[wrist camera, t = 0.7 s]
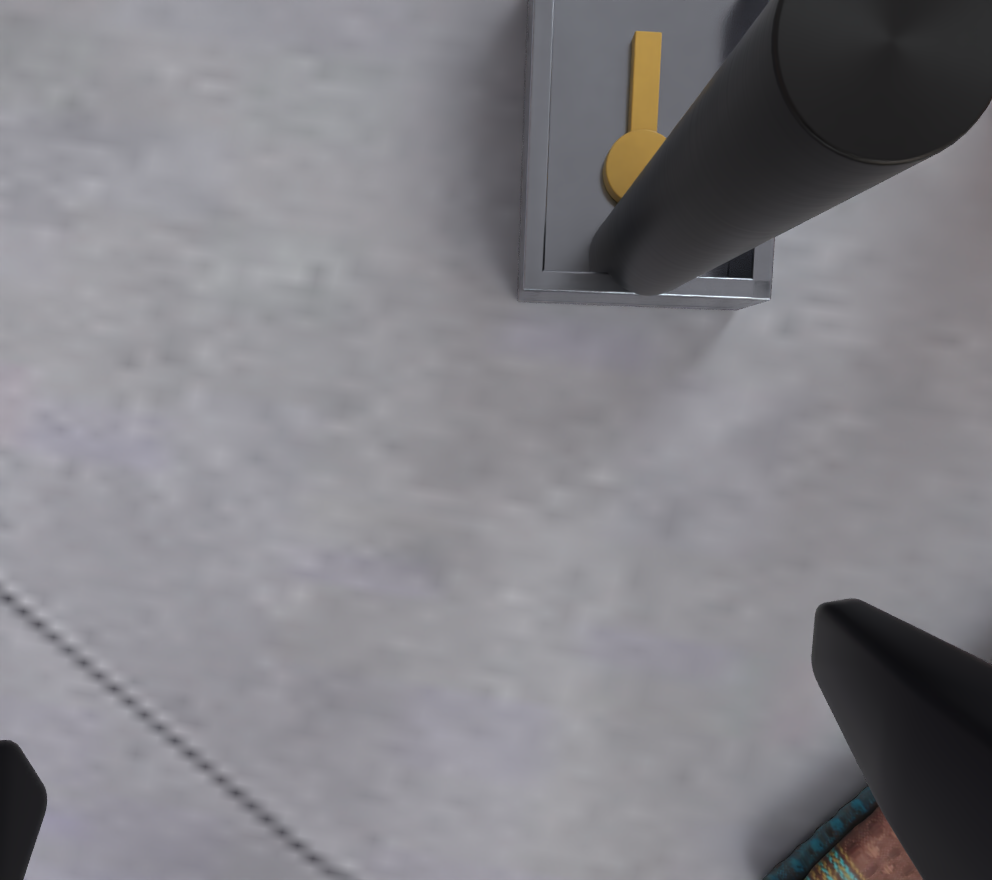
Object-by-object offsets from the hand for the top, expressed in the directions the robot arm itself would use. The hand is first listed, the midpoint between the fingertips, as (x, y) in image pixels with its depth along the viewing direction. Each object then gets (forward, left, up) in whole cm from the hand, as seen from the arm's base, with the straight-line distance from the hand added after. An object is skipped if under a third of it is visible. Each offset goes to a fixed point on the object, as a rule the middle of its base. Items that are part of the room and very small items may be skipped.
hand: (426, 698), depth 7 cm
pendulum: (+9, -9, -13) cm, 18 cm away
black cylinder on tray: (+8, -9, -14) cm, 18 cm away
